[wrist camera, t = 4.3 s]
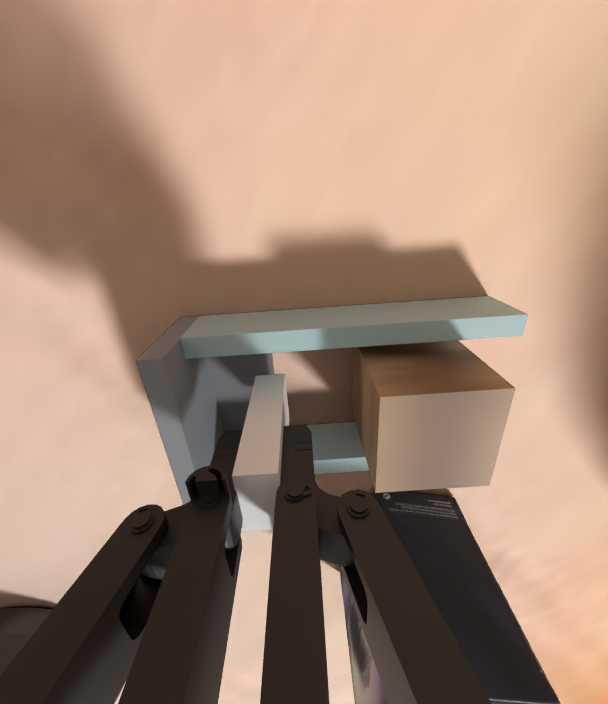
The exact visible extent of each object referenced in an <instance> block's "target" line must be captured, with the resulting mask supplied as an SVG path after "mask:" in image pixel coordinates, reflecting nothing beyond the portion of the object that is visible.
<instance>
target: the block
mask: <svg viewBox="0 0 608 704" xmlns="http://www.w3.org/2000/svg"><path fill="white" fill-rule="evenodd" d="M514 391H515V388H514V387H513V386H512V385H511V384H510V383H508V382H507V381H506V380H505V379H504V378H502V377H501V376H500V375H499V374H498V373H496V372H495V371H494V370H493V369H492V368H490V367H489V366H488V365H487V364H486V363H484V362H483V361H482V360H481V359H480V358H478V357H477V356H476V355H475V354H474V353H472V352H471V351H470V350H469V349H468V348H466V347H465V346H464V345H463V344H462V343H460V342H459V341H458V340H454V341H439V342H424V343H410V344H395V345H380V346H366V347H353V414H354V418H355V421H356V425H357V428H358V432H359V436H360V439H361V443H362V446H363V450H364V454H365V457H366V461H367V464H368V468H369V472H370V475H371V479H372V482H373V486H374V490H375V493H381V492H396V491H412V490H427V489H442V488H457V487H473V486H488V485H490V481H491V477H492V474H493V470H494V466H495V462H496V459H497V455H498V451H499V447H500V444H501V440H502V436H503V432H504V429H505V425H506V421H507V417H508V414H509V410H510V406H511V402H512V399H513V395H514Z"/></svg>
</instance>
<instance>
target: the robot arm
mask: <svg viewBox="0 0 608 704" xmlns="http://www.w3.org/2000/svg"><path fill="white" fill-rule="evenodd" d="M185 484H186V487H187V490H188V493H189V496H190V501H189V502H188V503H186V504H184V505H182V506H179V507H176V508H173V509H170V510H168V511H165V512H164V510H163V509H162V507H160V506H158V505H146V506H143V507H140V508H138V509H137V510H135V511H133V512H132V513H131V514H130V515H129V516H128V517H126V518H125V519H124V521H123V522H122V523H121V524H120V526H119V527H118V528H117V530H116V531H115V532H114V533H113V535H112V536H111V537H110V538H109V540H108V541H107V542H106V543H105V545H104V546H103V547H102V548H101V550H100V551H99V552H98V553H97V555H96V556H95V557H94V558H93V560H92V561H91V562H90V563H89V565H88V566H87V567H86V568H85V570H84V571H83V572H82V574H81V575H80V576H79V577H78V579H77V580H76V581H75V582H74V584H73V585H72V586H71V587H70V589H69V590H68V591H67V592H66V594H65V595H64V596H63V597H62V599H61V600H60V601H59V602H58V604H57V605H56V606H55V607H54V609H53V610H51V609H43V608H8V609H1V610H0V704H114V703H115V701H116V700H117V698H118V696H119V695H120V692H121V690H122V688H123V685H124V684H125V686H124V689H123V692H122V695H121V697H120V700H119V703H118V704H218V698H219V691H220V685H221V679H222V672H223V666H224V659H225V653H226V647H227V640H228V634H229V627H230V621H231V615H232V608H233V602H234V595H235V589H236V583H237V576H238V570H239V563H240V557H241V551H242V540H241V536H240V534H241V528H242V523H243V527H244V531H257V530H273V538H272V552H271V565H270V579H269V592H268V605H267V619H266V632H265V646H264V659H263V673H262V686H261V699H260V704H329V691H328V676H327V660H326V644H325V629H324V613H323V597H322V582H321V566H320V559H321V560H325V561H328V562H331V563H335V564H338V565H340V567H341V570H342V573H343V575H344V578H345V581H346V584H347V587H348V589H349V592H350V595H351V598H352V601H353V603H354V606H355V609H356V612H357V615H358V617H359V620H360V623H361V626H362V629H363V632H364V634H365V637H366V640H367V643H368V646H369V648H370V651H371V654H372V657H373V660H374V662H375V665H376V668H377V671H378V674H379V676H380V679H381V682H382V685H383V688H384V690H385V693H386V696H387V699H388V702H389V704H492V703H491V701H490V700H489V698H488V696H487V694H486V692H485V691H484V689H483V687H482V685H481V684H480V682H479V680H478V678H477V676H476V675H475V673H474V671H473V669H472V668H471V666H470V664H469V662H468V661H467V659H466V657H465V655H464V653H463V652H462V650H461V648H460V646H459V645H458V643H457V641H456V639H455V638H454V636H453V634H452V632H451V630H450V629H449V627H448V625H447V623H446V622H445V620H444V618H443V616H442V615H441V613H440V611H439V609H438V607H437V606H436V604H435V602H434V600H433V599H432V597H431V595H430V593H429V592H428V590H427V588H426V586H425V584H424V583H423V581H422V579H421V577H420V576H419V574H418V572H417V570H416V568H415V567H414V565H413V563H412V561H411V560H410V558H409V556H408V554H407V553H406V551H405V549H404V547H403V545H402V544H401V542H400V540H399V538H398V537H397V535H396V533H395V531H394V530H393V528H392V526H391V524H390V522H389V521H388V519H387V517H386V515H385V514H384V512H383V510H382V508H381V507H380V505H379V503H378V501H377V500H376V499H375V498H374V497H373V496H372V495H370V494H369V493H367V492H365V491H360V490H353V491H349V492H347V493H345V494H343V495H342V497H337V496H333V495H330V494H327V493H325V492H324V491H322V490H321V489H320V488H319V487H318V486H317V484H316V482H315V476H314V461H313V447H312V433H311V431H310V429H309V428H308V427H307V425H294V426H289V409H288V399H287V390H286V381H285V374H274V375H259V376H256V377H255V381H254V385H253V390H252V394H251V398H250V402H249V406H248V411H247V415H246V419H245V423H244V427H243V430H231V431H225V432H224V433H223V435H222V436H221V437H220V438H219V439H218V442H217V445H216V448H215V451H214V454H213V458H212V460H211V463H210V466H205V467H202V468H199V469H197V470H195V471H194V472H193V473H192V474H191V475H189V477H188V478H187V480H186V481H185ZM126 680H127V681H126ZM125 682H126V683H125Z"/></svg>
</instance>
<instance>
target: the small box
mask: <svg viewBox="0 0 608 704" xmlns="http://www.w3.org/2000/svg"><path fill="white" fill-rule="evenodd" d="M372 496H373V497H374V498H375V499H376V500H377V501H378V503H379V505H380V507H381V508H382V510H383V512H384V514H385V515H386V517H387V519H388V521H389V522H390V524H391V526H392V528H393V530H394V531H395V533H396V535H397V537H398V538H399V540H400V542H401V544H402V545H403V547H404V549H405V551H406V553H407V554H408V556H409V558H410V560H411V561H412V563H413V565H414V567H415V568H416V570H417V572H418V574H419V576H420V577H421V579H422V581H423V583H424V584H425V586H426V588H427V590H428V592H429V593H430V595H431V597H432V599H433V600H434V602H435V604H436V606H437V607H438V609H439V611H440V613H441V615H442V616H443V618H444V620H445V622H446V623H447V625H448V627H449V629H450V630H451V632H452V634H453V636H454V638H455V639H456V641H457V643H458V645H459V646H460V648H461V650H462V652H463V653H464V655H465V657H466V659H467V661H468V662H469V664H470V666H471V668H472V669H473V671H474V673H475V675H476V676H477V678H478V680H479V682H480V684H481V685H482V687H483V689H484V691H485V692H486V694H487V696H488V698H489V700H490V701H491V703H492V704H561V703H560V702H559V700H558V697H557V695H556V693H555V692H554V690H553V688H552V687H551V685H550V683H549V681H548V679H547V677H546V675H545V673H544V671H543V669H542V667H541V665H540V663H539V661H538V660H537V658H536V656H535V654H534V652H533V650H532V649H531V646H530V644H529V642H528V640H527V638H526V636H525V634H524V633H523V631H522V629H521V626H520V625H519V623H518V621H517V619H516V617H515V615H514V613H513V612H512V610H511V608H510V606H509V603H508V601H507V599H506V598H505V596H504V594H503V592H502V590H501V588H500V586H499V584H498V583H497V581H496V579H495V577H494V575H493V573H492V571H491V569H490V567H489V566H488V563H487V561H486V559H485V557H484V555H483V554H482V552H481V550H480V548H479V546H478V544H477V542H476V540H475V538H474V536H473V534H472V532H471V530H470V528H469V526H468V524H467V522H466V520H465V518H464V516H463V514H462V512H461V510H460V508H459V505H458V503H457V501H456V499H455V498H454V497H449V496H448V497H446V496H438V495H430V494H422V493H415V492H408V491H396V492H381V493H375V491H374V493H373V495H372ZM340 575H341V585H342V594H343V602H344V610H345V619H346V629H347V638H348V646H349V655H350V664H351V673H352V682H353V691H354V700H355V704H389V702H388V699H387V696H386V693H385V690H384V688H383V685H382V682H381V679H380V676H379V674H378V671H377V668H376V665H375V662H374V660H373V657H372V654H371V651H370V648H369V646H368V643H367V640H366V637H365V634H364V632H363V629H362V626H361V623H360V620H359V617H358V615H357V612H356V609H355V606H354V603H353V601H352V598H351V595H350V592H349V589H348V587H347V584H346V581H345V578H344V575H343V573H342V570H341V572H340Z"/></svg>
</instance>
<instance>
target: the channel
mask: <svg viewBox="0 0 608 704" xmlns="http://www.w3.org/2000/svg"><path fill="white" fill-rule="evenodd" d="M527 316H528V314H526V313H524V312H522V311H520V310H518V309H516V308H513V307H511V306H509V305H507V304H505V303H503V302H501V301H498V300H496V299H494V298H492V297H490V296H480V297H466V298H451V299H437V300H422V301H408V302H393V303H379V304H364V305H350V306H335V307H321V308H306V309H292V310H277V311H263V312H248V313H234V314H219V315H205V316H190V317H180V318H179V319H178V320H177V321H176V322H175V323H174V324H173V325H172V326H171V327H170V328H169V329H168V330H167V331H166V332H165V333H164V334H163V335H162V336H161V337H159V338H158V339H157V340H156V341H155V342H154V343H153V344H152V345H151V346H150V347H149V348H148V349H147V350H146V351H145V352H144V353H143V354H142V355H141V356H140V357H139V358H138V359H137V360H136V363H137V366H138V369H139V372H140V375H141V378H142V381H143V384H144V387H145V390H146V393H147V396H148V399H149V402H150V405H151V408H152V411H153V414H154V417H155V420H156V423H157V427H158V430H159V433H160V436H161V439H162V442H163V445H164V448H165V451H166V454H167V457H168V460H169V463H170V466H171V469H172V472H173V475H174V478H175V481H176V484H177V487H178V490H179V493H180V496H181V499H182V502H183V505H184V504H186V503H188V502H189V501H190V496H189V493H188V490H187V487H186V484H185V481H186V480H187V478H188V477H189V475H191V474H192V473H193V472H194V471H195V470H197V469H199V468H202V467H205V466H210V463H211V460H212V458H213V454H214V451H215V448H216V445H217V442H218V439H219V438H220V437H221V436H222V435H223V433H224V432H225V431H231V430H243V427H244V423H245V419H246V415H247V411H248V406H249V402H250V398H251V394H252V390H253V385H254V381H255V377H256V376H259V375H274V367H273V359H272V353H278V352H292V351H307V350H322V349H336V348H351V347H366V346H380V345H395V344H410V343H424V342H439V341H454V340H468V339H483V338H497V337H512V336H522V335H523V331H524V327H525V323H526V320H527ZM307 427H308V428H309V429H310V431H311V433H312V447H313V461H314V474H327V473H342V472H357V471H369V468H368V464H367V461H366V457H365V454H364V450H363V446H362V443H361V439H360V436H359V432H358V428H357V425H356V422H345V423H330V424H315V425H307Z"/></svg>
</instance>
